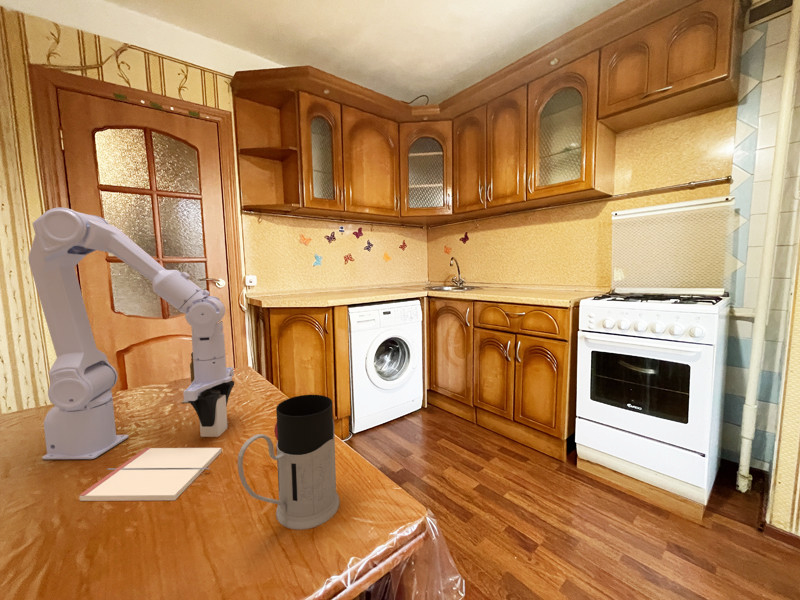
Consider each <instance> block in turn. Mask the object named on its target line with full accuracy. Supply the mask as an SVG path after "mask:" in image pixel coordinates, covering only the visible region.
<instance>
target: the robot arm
mask: <svg viewBox="0 0 800 600" xmlns="http://www.w3.org/2000/svg"><path fill="white" fill-rule="evenodd" d="M32 226H33V231H34V239H33V240H32V244H31V248H30V251H29V254H28V258H27V259H28V264H29V268H30V271H31V274H32V278H33V281H34V284H35V288H36V290H37V295H38V298H39V302H40V305H41V307H42V311H43V314H44V315H43V316H44V318H45V321H46V325H47V328H48V329H47V330H48V332H49V336H50V340H51V342H52V345H53V348H54V352H55V353H54V354H55V356H56V358H55V361H54V362H53V363H52V366H51V368H50V369H49V372H48V375H49V379H50V380H49V381H50V384H49V388H48V390H47V397H48V400H49V401H50V403H51V404H52V405H54V406H53V407H51V409H49V410H48V411H47V413H46V416H45V418H44V420H43V430H44V439H45V440H44V441H45V447H46V454H44V455H43V456H42V457H41V458H42V460H93V459H96V458H98V457H99V456H101V455H102V454H105V452H107V451H109V450H111V449H112V448H114V447H116V446H117V445H119V444H120V443H122V442H124V441H125V440H126V439H128V438H129V434H117V431H116V422H115V421H116V419H115V411H114V410H115V409H114V400H113V398H114V397H113V393H112V389H113V388H115V387H114V386H115V385H116V383H117V382H118V377H119V375H118V371H117V370H116V369H115V367H114V366H113V365H111V363H110V362H109V360H108V357H107V354H106V353H104V352H103V351H101V350H100V349H99V348H98V347H97V344H96V342H95V337H94V333H93V330H92V327H91V322H90V320H89V317H88V312H87V309H86V305H85V302H84V298H83V297H84V296H83V295H82V289H81V286H80V283H79V279H78V275H77V273H76V268H75V267H76V266H77V265H78V264H79V263H80V262H81V261H82V260H83V259H84V258H85V257H86V256H87V255H89V254H93V252H95V251H100V252H105V253H109V254H111V255H113V256H114V257H116V258H117V259H118V260H120V261H122V262H123V263H125V264H126V265H128V267H130V268H132V269H133V270H134V271H136V272H137V273H139V274H140V275H142V276H143V277H145V278H146V279H148V280H149V281H150V282H151V283H152V291H153V292H154V293H155V294H156V295H157V296H158V297H160V298H161V299H162V300H164V301H165V302H167V303H168V304H170V305H171V306H172V307H173V308H175V309H176V310H177V311H178V312H179V313H182V314H185V315H184V318H185V320H186V323H188V325H189V326H191V343H192V344H191V346H192V347H191V348H192V352H193V365H194V380H193V382H192V383H191V382H190V384H189V386H188V387H187V388H186V389H184V390H183V401H188V402H187V403H189V404H190V405H191V406H192V407H193V409H194V411H195V413H196V414H197V418H198V420H199V423H200V422H201V425H202V427H212V426H213V425H214V422H215V409H216V403H217V400H218V397H219V395H226V408H227V406H228V401H229V398H230V395H231V392H232V390H233V388H234V386H235V380H233V377H234V374H235V373H234V367H228V366H227V360H226V358H227V357H226V344H225V343H226V342H225V333H224V322H223V318H224V316H225V313H226V308H225V305H224V303H223V302H222V301H221V300H220V298H219V297H218V296H215V295H214V296H213V295H210V294H211V293H210V291H209V290H207V289H205V290H204V289H202V288H201V287H199V286H198V285H197V284H196V283H194V281H192V280H191V279H190V277H191V275H190V274H188V273H187V272H186V271H182V272H181V271H180V270H178V269H166V268H165V267H163V265H161V264H160V263H159V262H158V261H157V260H156V259H155V258H153V257H152V256H151V255H150V254H149V253H147V252H146V251H145V250H144V249H143V248H141V247H140V246H139V245H138V244H136V242H134V241H133V240H132V239H131V238H130V237H129V236H128V235H126V234H125V233H124V232H123V231H122V230H120V228H118V227H116V226H115V225H112V224H110V223H109V222H108V221H107V220H106V219H105V218H103V217H101V216H99V215H95V214H87V213H83V212H80V211H75V209H74V210H73V209H71V208H67V207H54V208H50V209H48V210H46V211H45V212H44V213H43V214H41V215H40V216H39V217H38V218H37V219H35V220H34V221H33V222H32ZM210 390H220V393H211V391H210Z"/></svg>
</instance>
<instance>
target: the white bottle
mask: <svg viewBox="0 0 800 600" xmlns="http://www.w3.org/2000/svg"><path fill="white" fill-rule="evenodd" d="M210 391H211V393H220V390H210ZM227 413H228V411H227V407H226V395H219V397H218V400H217V403H216V409H215V422H214V425H213V426H212V427H202V425H201V422H200V421H199V432H200V434H199V435H200V437H201V438H202V437H203V438H205V437H207V438H209V437H211V438H213V437H214V438H217V437H220V436H221V435H222V434H223V433H224V432H225V431H226V430H228V415H227Z"/></svg>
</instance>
